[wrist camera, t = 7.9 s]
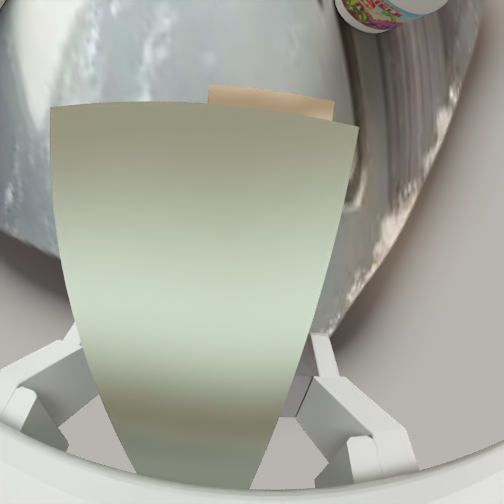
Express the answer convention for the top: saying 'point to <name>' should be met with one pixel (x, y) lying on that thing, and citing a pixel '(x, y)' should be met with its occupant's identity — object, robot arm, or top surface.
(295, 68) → the top surface
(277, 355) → the rail end
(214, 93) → the wooden square frame
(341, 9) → the milk bottle
